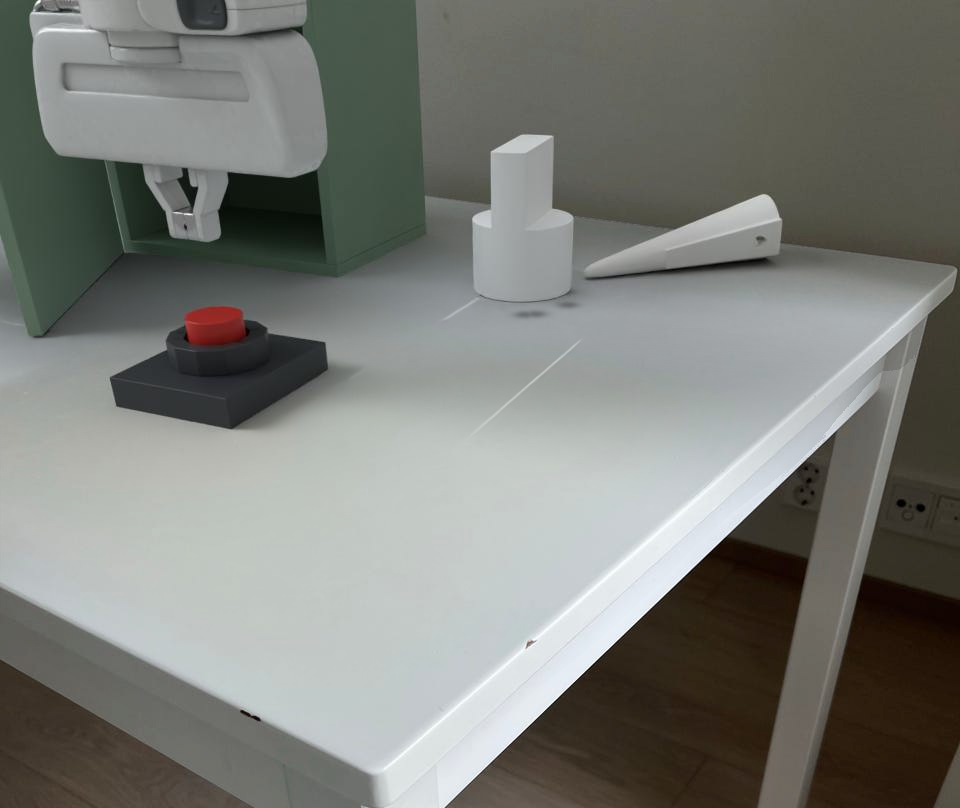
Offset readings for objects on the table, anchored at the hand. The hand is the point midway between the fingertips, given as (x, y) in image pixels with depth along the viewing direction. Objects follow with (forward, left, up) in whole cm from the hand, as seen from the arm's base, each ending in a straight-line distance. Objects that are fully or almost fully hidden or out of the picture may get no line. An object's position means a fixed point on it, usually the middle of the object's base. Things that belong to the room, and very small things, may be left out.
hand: (196, 238), depth 67 cm
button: (0, 0, -7) cm, 7 cm away
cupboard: (+21, +36, -11) cm, 43 cm away
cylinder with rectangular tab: (+32, +7, -11) cm, 35 cm away
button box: (0, 0, -11) cm, 11 cm away
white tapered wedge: (+48, +4, -11) cm, 50 cm away
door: (-3, +33, -10) cm, 35 cm away
